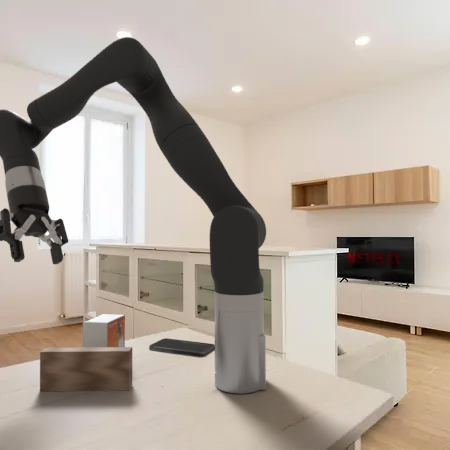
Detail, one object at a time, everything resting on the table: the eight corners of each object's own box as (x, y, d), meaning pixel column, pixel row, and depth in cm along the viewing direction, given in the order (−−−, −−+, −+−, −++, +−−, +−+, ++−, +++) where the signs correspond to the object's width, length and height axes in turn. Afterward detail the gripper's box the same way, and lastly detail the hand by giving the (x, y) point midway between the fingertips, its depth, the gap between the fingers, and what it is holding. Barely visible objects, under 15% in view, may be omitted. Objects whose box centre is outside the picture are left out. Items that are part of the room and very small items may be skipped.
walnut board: (132, 384, 69) (132, 347, 69) (129, 390, 67) (129, 351, 67) (46, 385, 69) (46, 347, 69) (39, 391, 66) (40, 351, 67)
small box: (106, 376, 73) (107, 322, 74) (81, 374, 75) (81, 321, 75) (125, 362, 81) (125, 314, 82) (102, 360, 82) (102, 313, 83)
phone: (202, 353, 85) (147, 346, 90) (202, 358, 85) (147, 350, 90) (216, 344, 92) (164, 337, 98) (216, 348, 92) (164, 342, 98)
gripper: (5, 175, 72) (17, 251, 67) (66, 191, 84) (80, 256, 79) (-18, 193, 75) (-7, 267, 70) (44, 206, 87) (57, 270, 82)
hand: (39, 261), depth 74 cm, fingers open, 8 cm apart
